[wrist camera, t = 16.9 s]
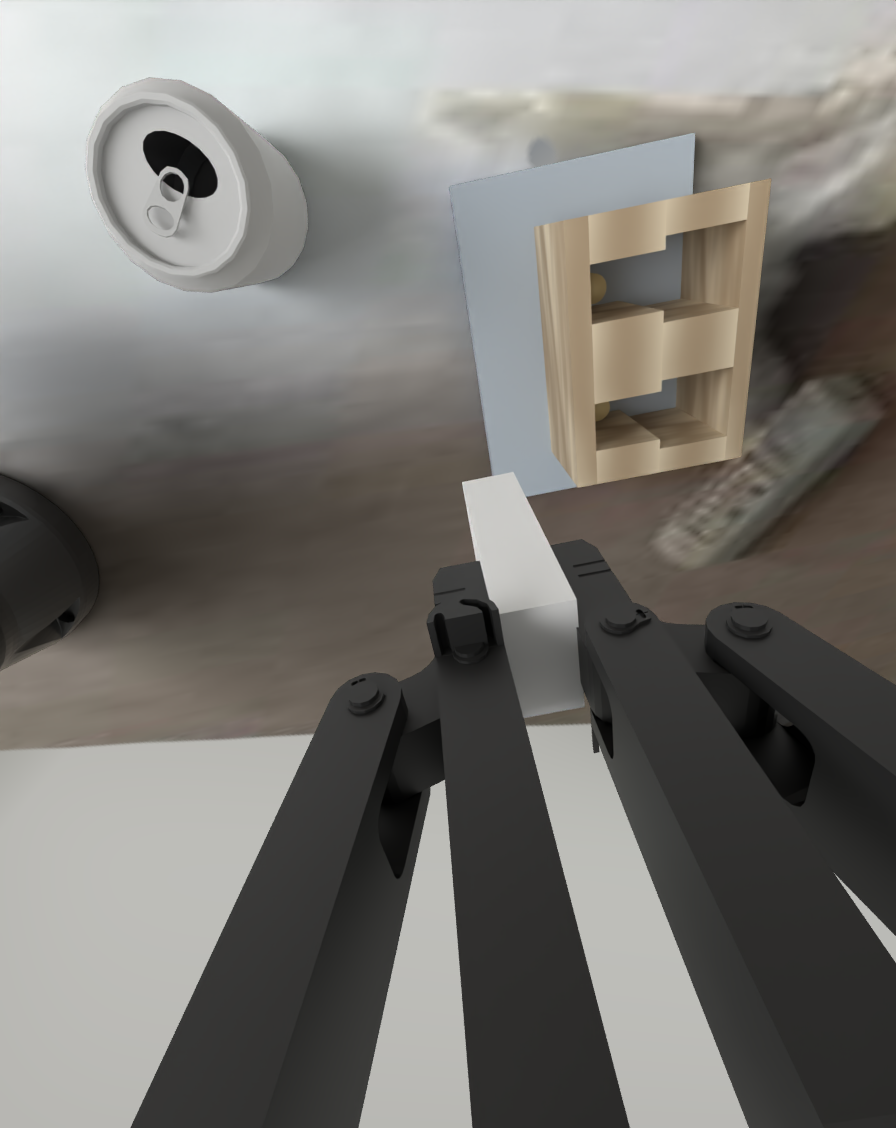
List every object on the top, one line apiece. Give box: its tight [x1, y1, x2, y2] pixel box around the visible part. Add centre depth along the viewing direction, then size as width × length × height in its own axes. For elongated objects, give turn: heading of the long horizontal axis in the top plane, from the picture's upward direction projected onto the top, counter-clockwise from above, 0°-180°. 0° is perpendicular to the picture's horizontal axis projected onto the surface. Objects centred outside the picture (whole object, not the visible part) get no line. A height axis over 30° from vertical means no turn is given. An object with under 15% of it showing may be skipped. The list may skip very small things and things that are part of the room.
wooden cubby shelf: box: [534, 179, 771, 488], centre depth 32 cm, size 10×14×7 cm
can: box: [85, 77, 308, 293], centre depth 26 cm, size 8×8×12 cm
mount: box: [449, 133, 695, 497], centre depth 35 cm, size 14×20×4 cm
